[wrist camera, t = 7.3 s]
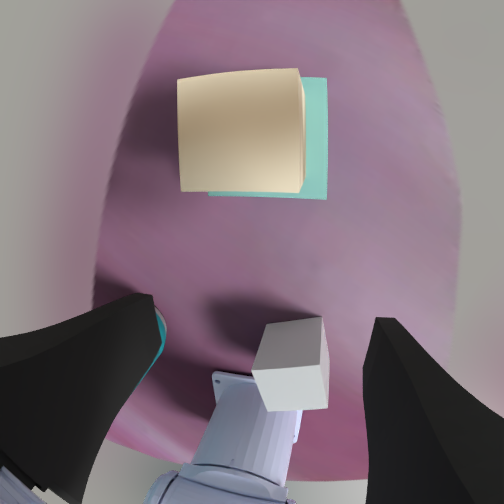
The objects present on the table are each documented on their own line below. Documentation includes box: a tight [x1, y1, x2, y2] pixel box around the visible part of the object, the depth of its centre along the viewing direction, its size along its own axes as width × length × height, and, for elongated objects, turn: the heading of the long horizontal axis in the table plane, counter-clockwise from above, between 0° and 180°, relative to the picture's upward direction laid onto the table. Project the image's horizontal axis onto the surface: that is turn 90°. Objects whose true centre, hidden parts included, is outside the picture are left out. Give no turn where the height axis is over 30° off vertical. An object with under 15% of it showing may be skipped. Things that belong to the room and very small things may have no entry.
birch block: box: [177, 68, 306, 193], centre depth 11 cm, size 4×4×5 cm
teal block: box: [208, 77, 328, 200], centre depth 14 cm, size 6×6×3 cm
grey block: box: [251, 317, 330, 412], centre depth 18 cm, size 4×4×5 cm
